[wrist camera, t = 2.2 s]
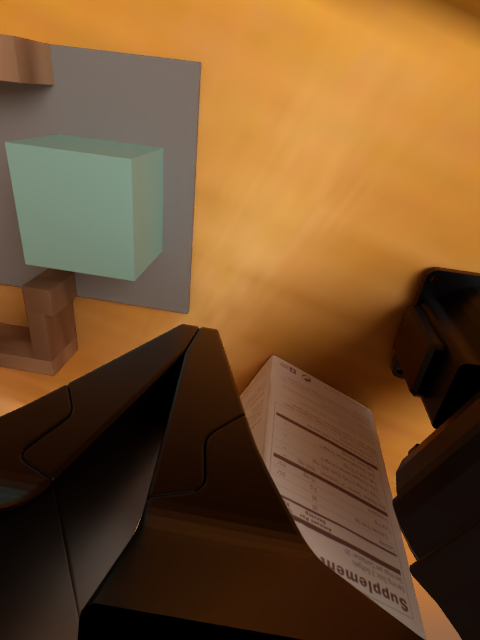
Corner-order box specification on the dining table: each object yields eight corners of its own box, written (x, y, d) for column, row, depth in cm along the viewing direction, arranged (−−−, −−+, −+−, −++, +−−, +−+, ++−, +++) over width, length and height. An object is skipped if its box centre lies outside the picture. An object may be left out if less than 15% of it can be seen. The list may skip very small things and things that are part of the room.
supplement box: (305, 473, 28) (309, 716, 17) (214, 424, 27) (154, 649, 16) (376, 408, 24) (438, 661, 13) (274, 348, 23) (250, 571, 12)
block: (163, 148, 18) (131, 159, 15) (162, 251, 21) (134, 281, 17) (59, 134, 19) (4, 142, 15) (70, 237, 21) (25, 264, 18)
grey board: (201, 62, 17) (199, 62, 16) (189, 311, 23) (187, 313, 22) (-231, 11, 18) (-239, 10, 18) (-136, 259, 24) (-141, 261, 24)
